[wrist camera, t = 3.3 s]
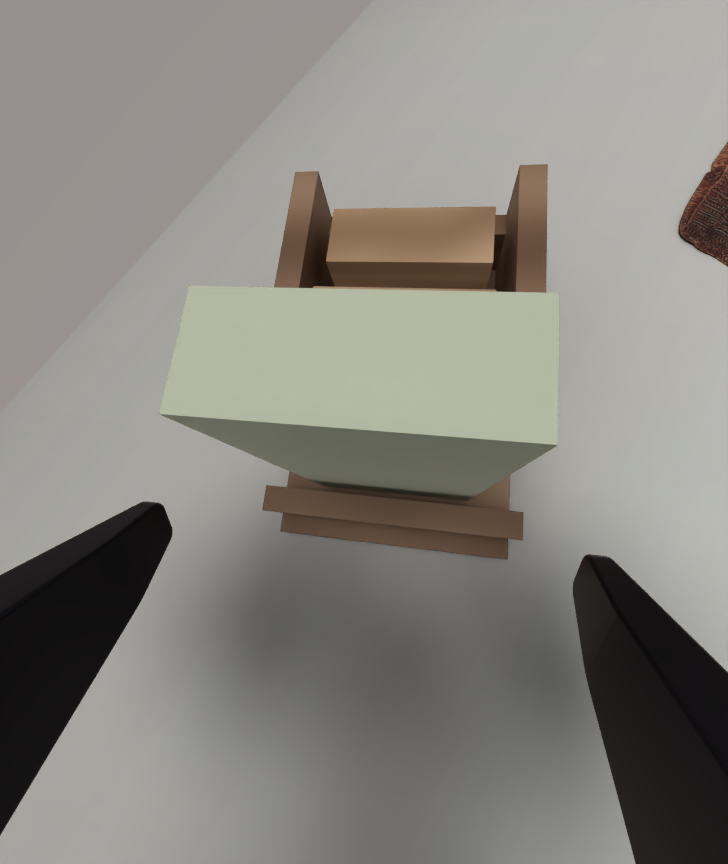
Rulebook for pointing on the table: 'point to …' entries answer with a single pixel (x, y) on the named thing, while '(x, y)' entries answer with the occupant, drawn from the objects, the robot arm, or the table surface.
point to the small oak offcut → (412, 247)
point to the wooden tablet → (710, 211)
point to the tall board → (372, 383)
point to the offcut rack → (398, 513)
